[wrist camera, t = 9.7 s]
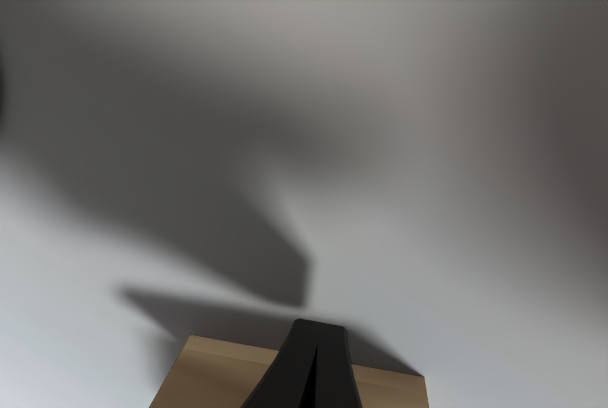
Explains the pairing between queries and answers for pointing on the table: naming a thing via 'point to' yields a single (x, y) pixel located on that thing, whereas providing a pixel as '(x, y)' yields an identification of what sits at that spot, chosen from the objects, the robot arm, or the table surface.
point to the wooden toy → (250, 369)
